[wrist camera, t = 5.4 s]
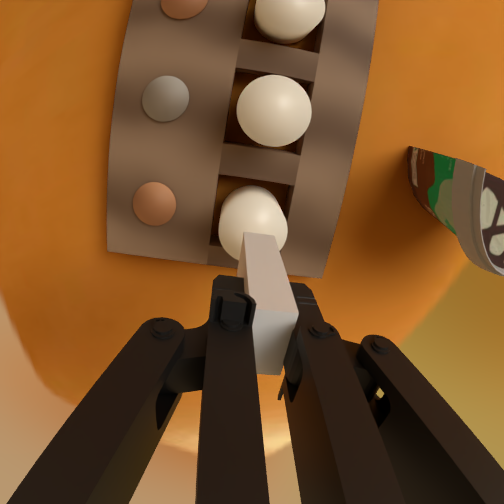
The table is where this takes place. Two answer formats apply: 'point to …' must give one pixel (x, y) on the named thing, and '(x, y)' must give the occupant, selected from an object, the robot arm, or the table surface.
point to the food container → (462, 203)
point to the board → (214, 126)
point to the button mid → (274, 110)
